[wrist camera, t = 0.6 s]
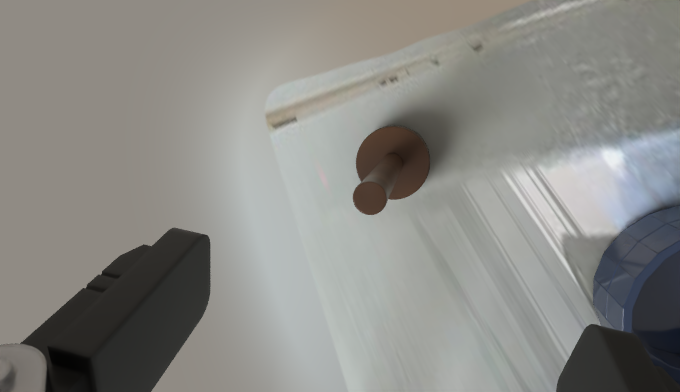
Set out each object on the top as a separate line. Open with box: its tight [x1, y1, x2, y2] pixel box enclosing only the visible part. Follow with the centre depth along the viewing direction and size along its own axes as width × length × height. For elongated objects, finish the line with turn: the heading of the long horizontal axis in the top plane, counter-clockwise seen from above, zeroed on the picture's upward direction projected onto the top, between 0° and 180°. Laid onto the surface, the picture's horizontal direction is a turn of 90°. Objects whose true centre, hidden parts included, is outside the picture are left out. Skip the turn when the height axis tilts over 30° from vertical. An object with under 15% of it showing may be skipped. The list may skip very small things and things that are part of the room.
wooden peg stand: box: [353, 125, 430, 215], centre depth 28 cm, size 6×6×16 cm
